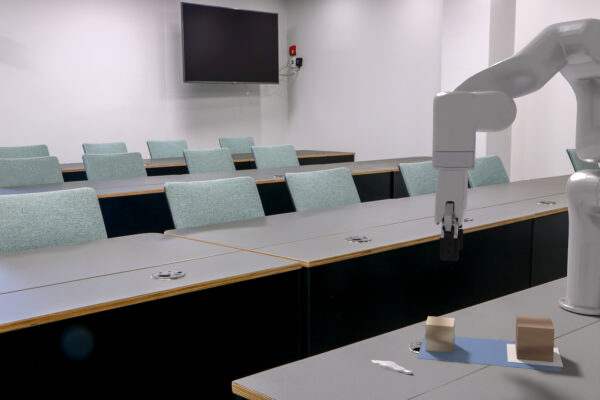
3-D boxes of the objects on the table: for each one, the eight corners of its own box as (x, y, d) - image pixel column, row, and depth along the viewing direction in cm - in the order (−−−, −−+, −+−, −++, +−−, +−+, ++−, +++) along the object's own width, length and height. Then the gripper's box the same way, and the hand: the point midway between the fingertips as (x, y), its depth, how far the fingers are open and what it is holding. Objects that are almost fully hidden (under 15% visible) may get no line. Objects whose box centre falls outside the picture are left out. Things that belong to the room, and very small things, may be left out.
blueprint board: (556, 349, 118) (556, 344, 118) (564, 377, 106) (564, 371, 105) (424, 338, 125) (424, 333, 125) (417, 363, 113) (417, 357, 113)
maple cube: (454, 343, 119) (454, 318, 119) (452, 353, 115) (453, 326, 114) (427, 341, 121) (428, 316, 120) (425, 350, 116) (425, 324, 115)
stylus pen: (417, 377, 106) (416, 367, 106) (407, 382, 105) (407, 372, 104) (352, 358, 118) (352, 348, 117) (342, 362, 116) (342, 352, 116)
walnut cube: (553, 362, 109) (554, 329, 108) (516, 359, 111) (517, 326, 110) (549, 349, 115) (550, 318, 114) (515, 347, 117) (516, 316, 116)
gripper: (437, 158, 122) (436, 244, 124) (426, 164, 106) (424, 263, 108) (477, 158, 119) (475, 246, 122) (472, 164, 103) (469, 266, 105)
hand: (451, 254), depth 115 cm, fingers open, 9 cm apart
